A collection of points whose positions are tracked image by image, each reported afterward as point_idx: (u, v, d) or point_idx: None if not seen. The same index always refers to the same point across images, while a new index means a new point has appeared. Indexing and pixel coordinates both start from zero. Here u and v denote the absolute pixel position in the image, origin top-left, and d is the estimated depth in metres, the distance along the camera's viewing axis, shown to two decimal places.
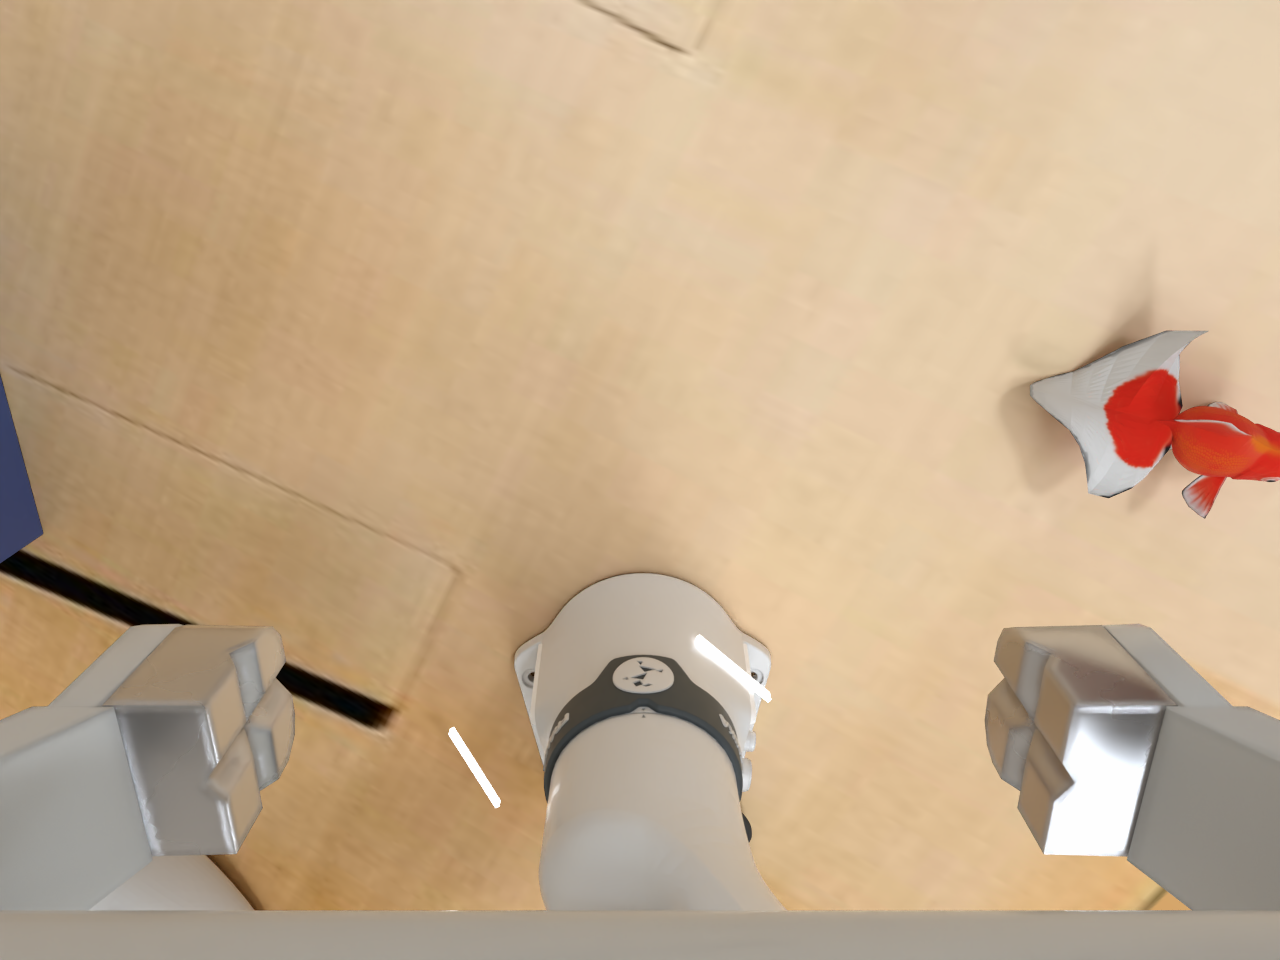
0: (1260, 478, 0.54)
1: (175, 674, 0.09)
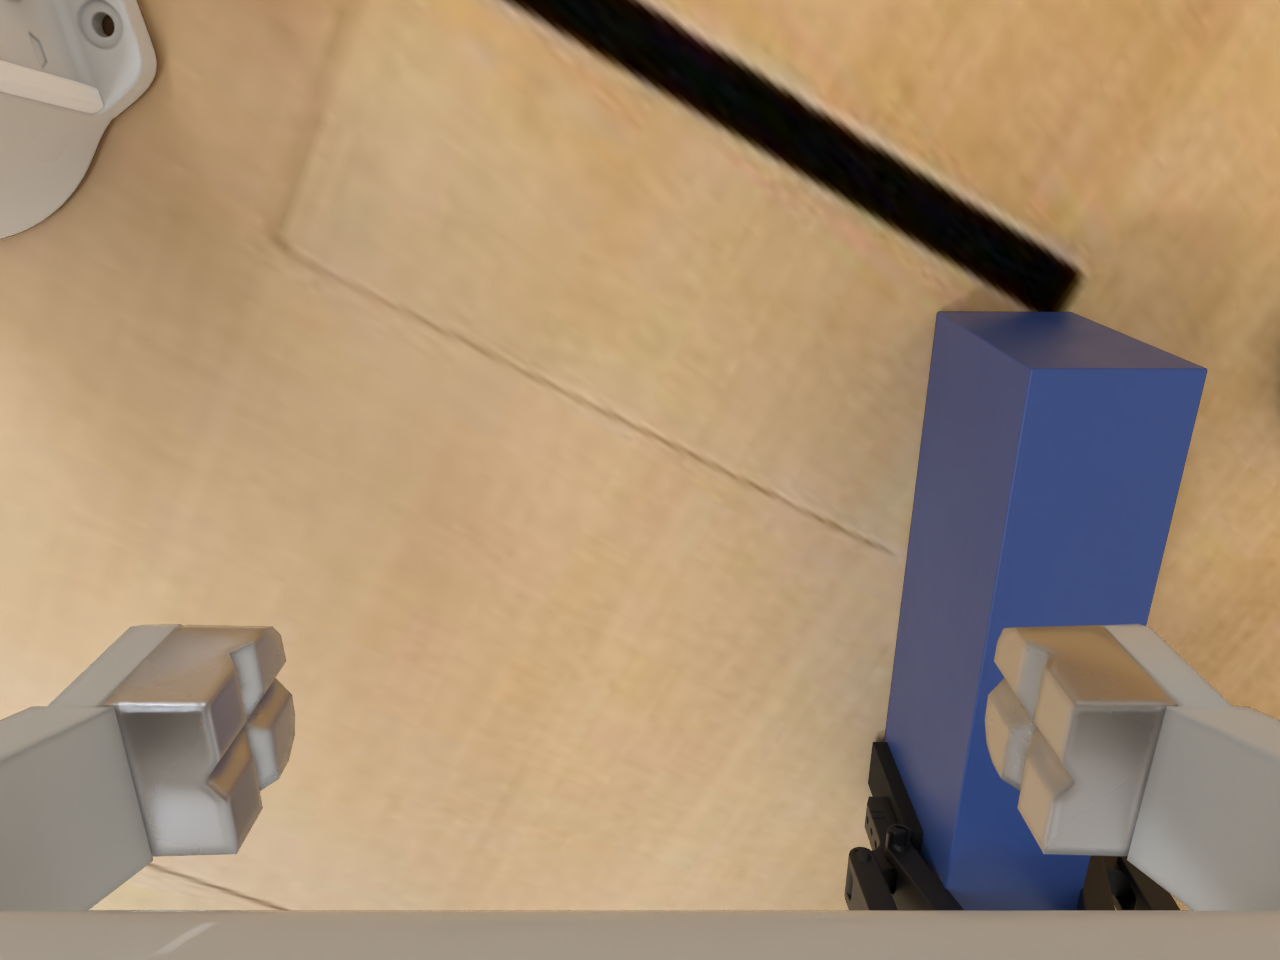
0: None
1: (174, 674, 0.09)
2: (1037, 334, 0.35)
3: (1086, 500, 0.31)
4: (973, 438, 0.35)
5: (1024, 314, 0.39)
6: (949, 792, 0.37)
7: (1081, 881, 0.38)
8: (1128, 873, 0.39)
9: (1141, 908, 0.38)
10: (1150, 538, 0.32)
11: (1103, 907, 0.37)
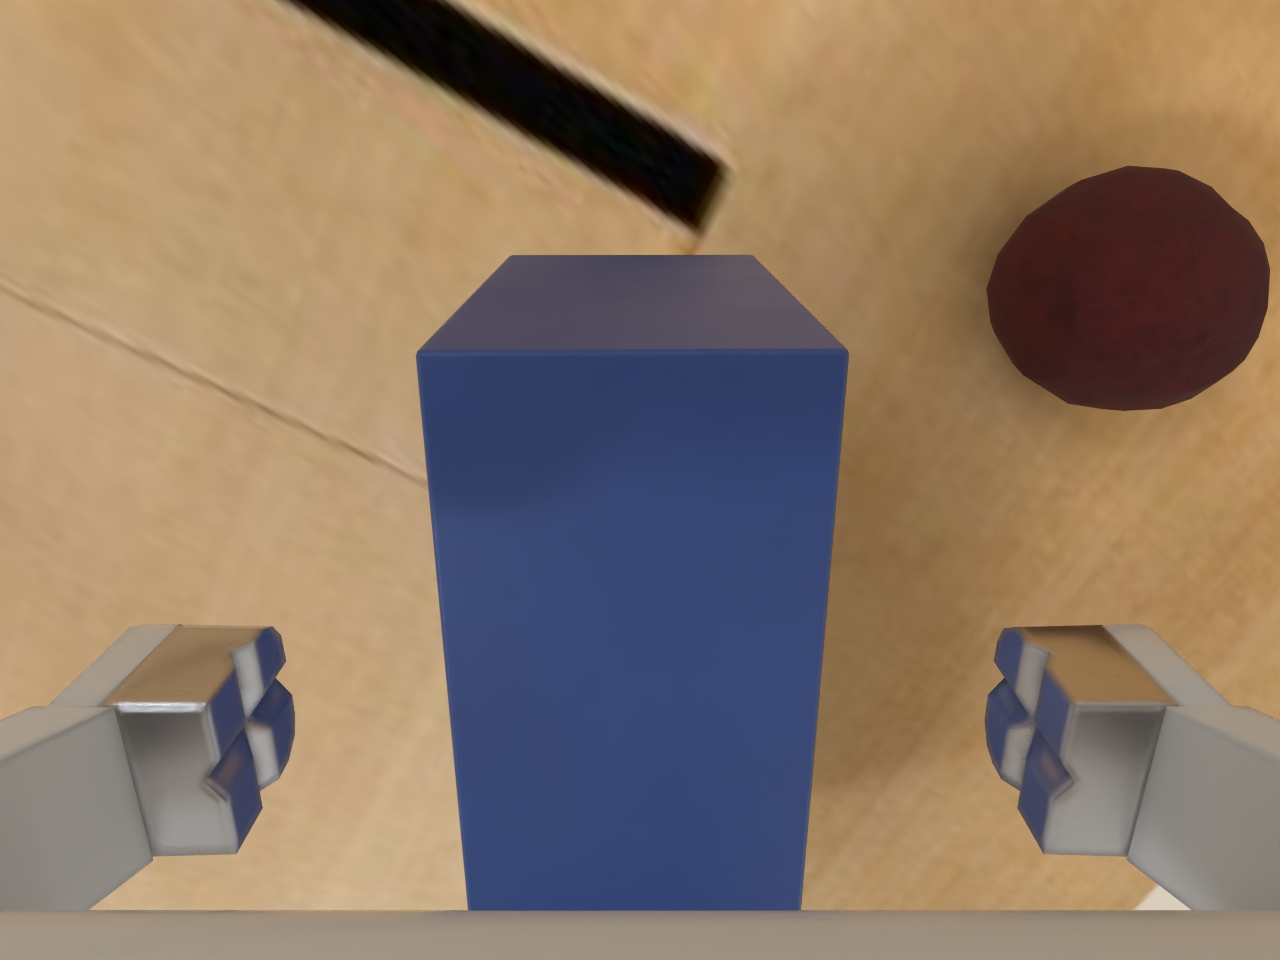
0: None
1: (174, 674, 0.09)
2: (604, 286, 0.17)
3: (618, 651, 0.14)
4: None
5: (657, 258, 0.21)
6: None
7: None
8: None
9: None
10: (778, 730, 0.14)
11: None
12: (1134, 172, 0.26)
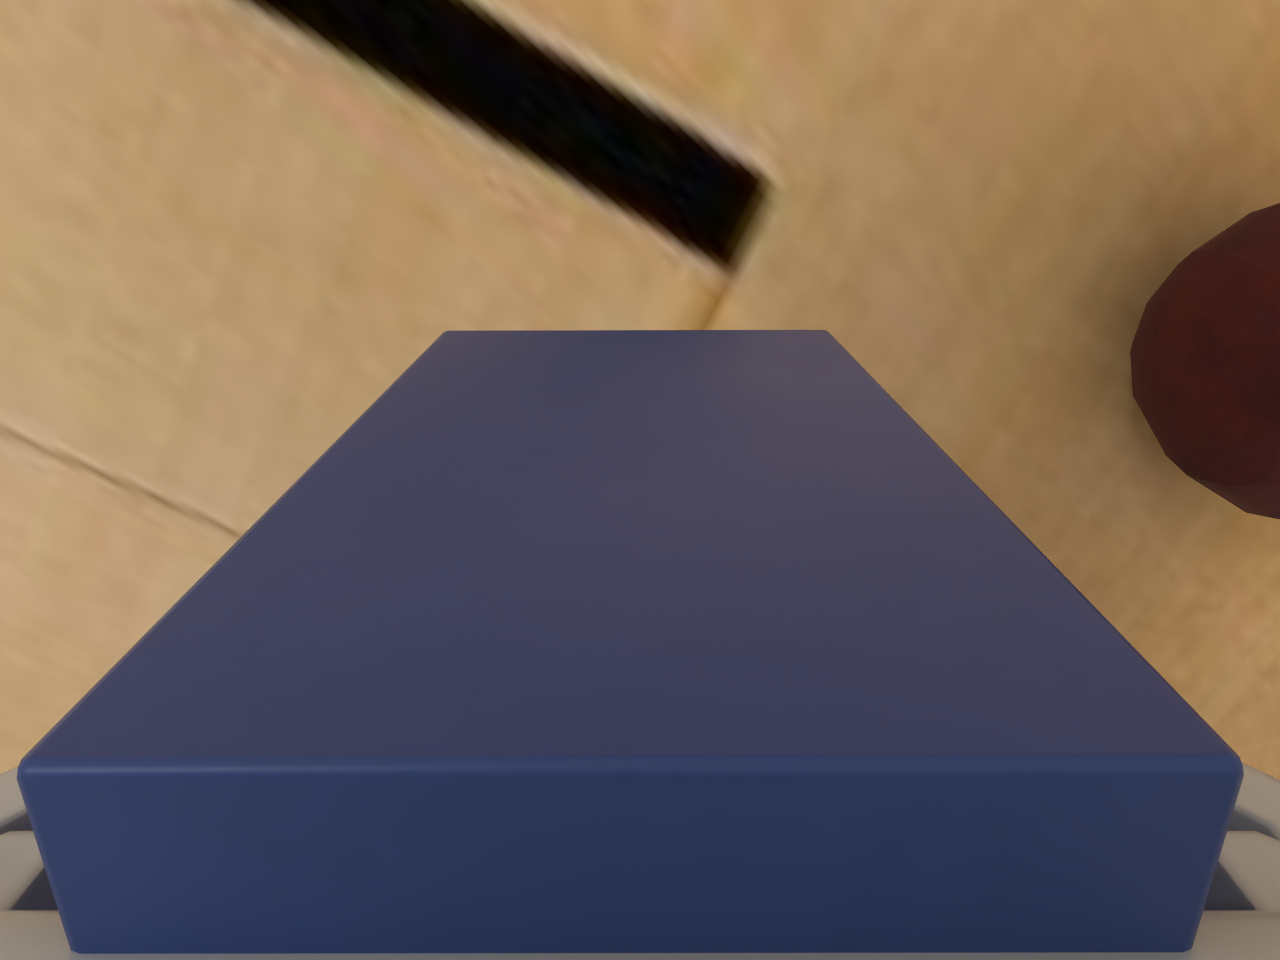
0: None
1: None
2: (583, 423, 0.09)
3: None
4: None
5: (677, 339, 0.13)
6: None
7: None
8: None
9: None
10: None
11: None
12: None
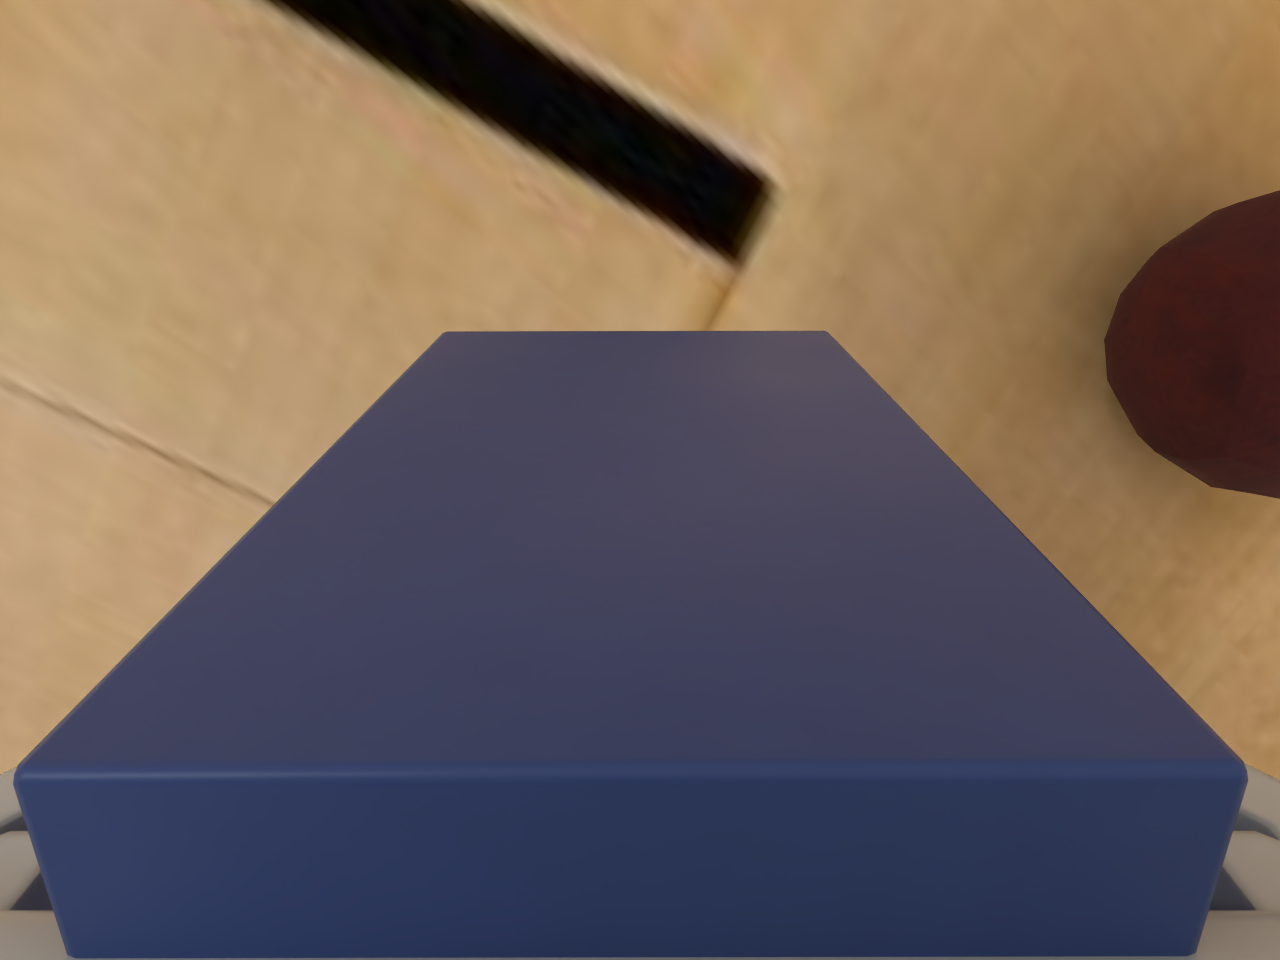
0: None
1: None
2: (583, 425, 0.09)
3: None
4: None
5: (676, 339, 0.13)
6: None
7: None
8: None
9: None
10: None
11: None
12: None
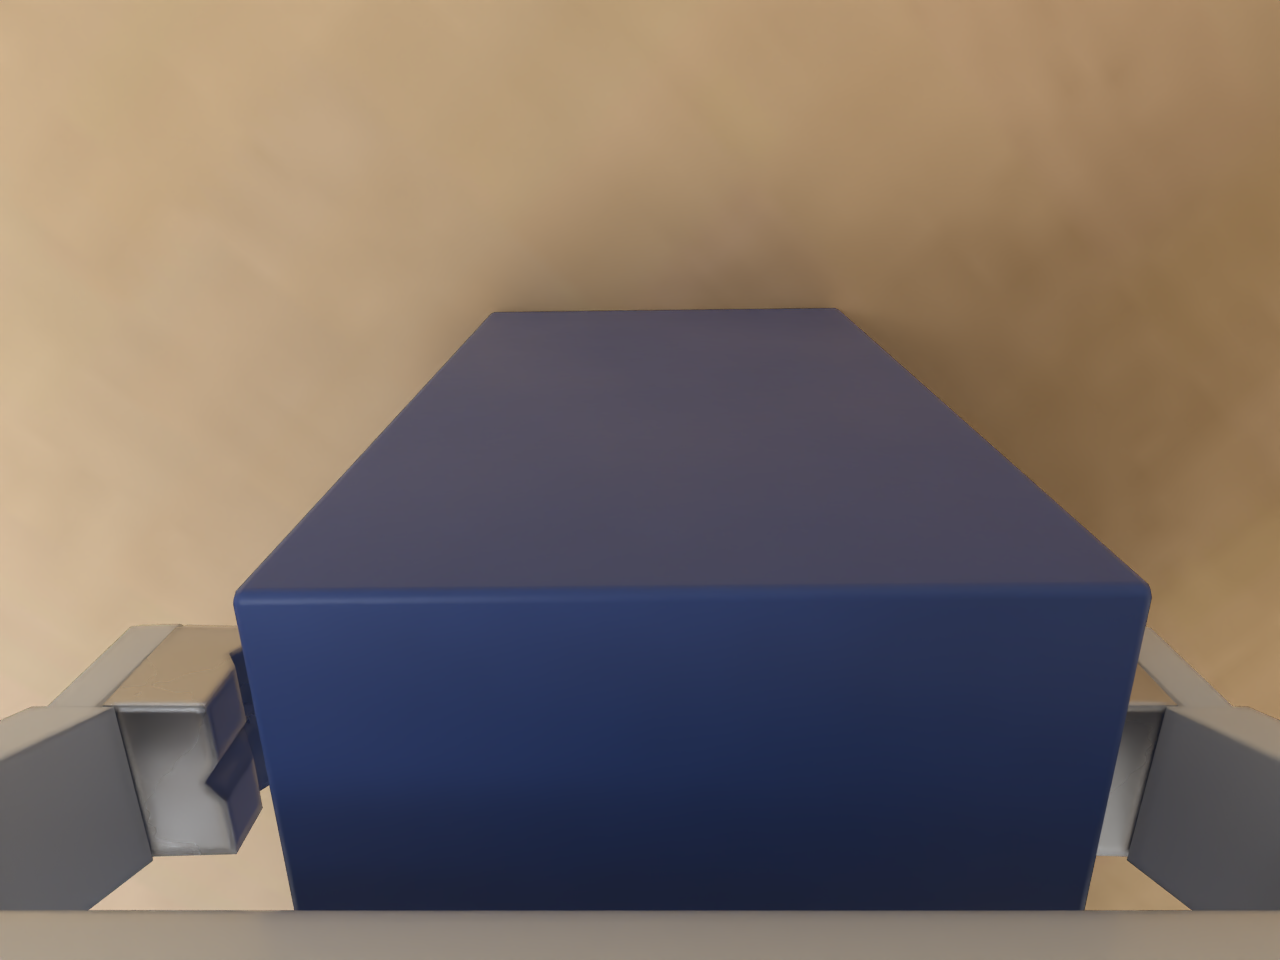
0: None
1: (174, 674, 0.09)
2: (626, 380, 0.11)
3: None
4: None
5: (701, 316, 0.14)
6: None
7: None
8: None
9: None
10: None
11: None
12: None
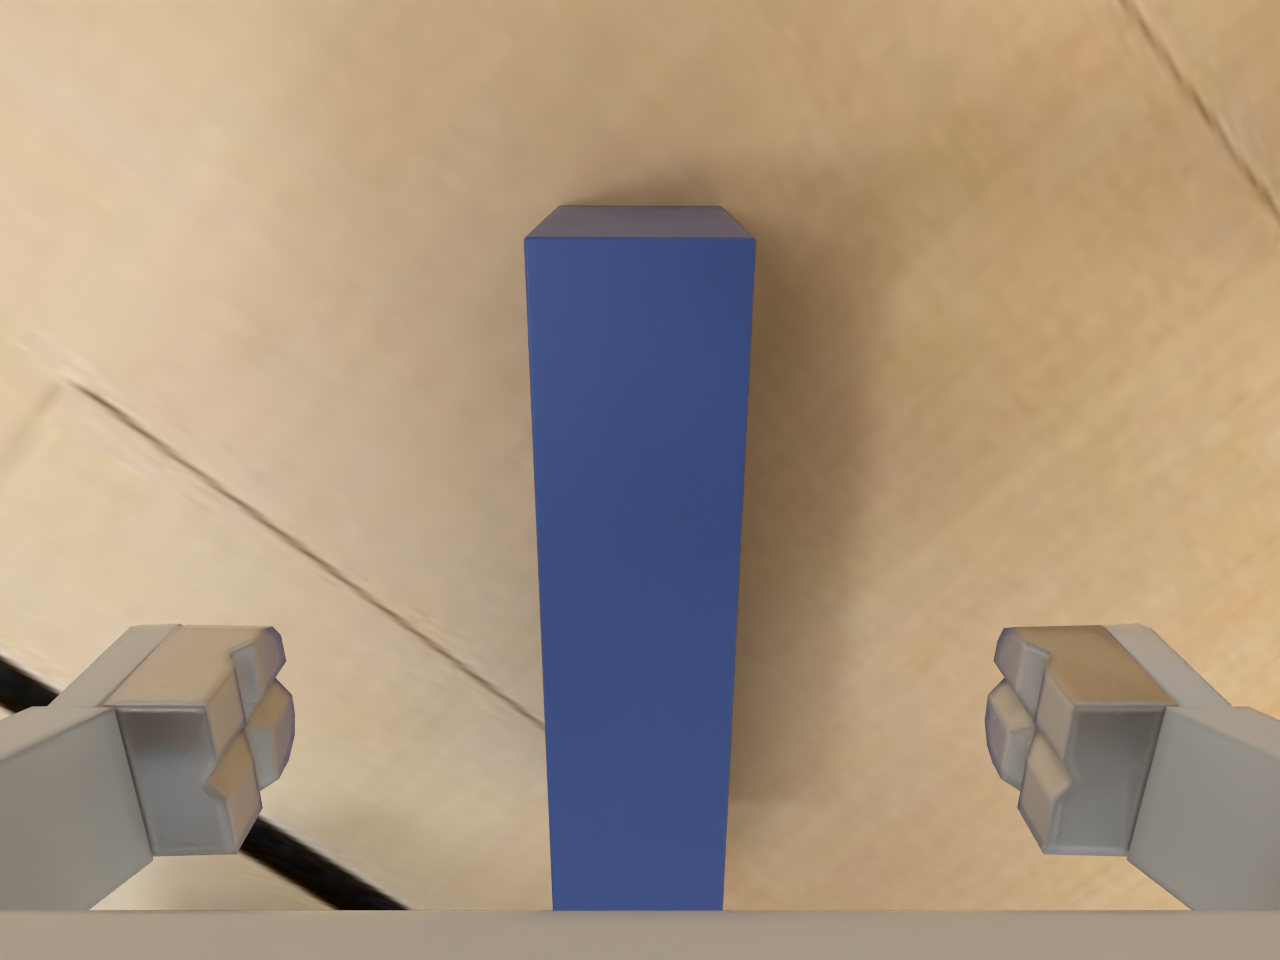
0: None
1: (175, 674, 0.09)
2: (623, 218, 0.28)
3: (630, 416, 0.24)
4: None
5: (657, 207, 0.31)
6: None
7: (718, 900, 0.31)
8: None
9: None
10: (722, 466, 0.25)
11: None
12: None
